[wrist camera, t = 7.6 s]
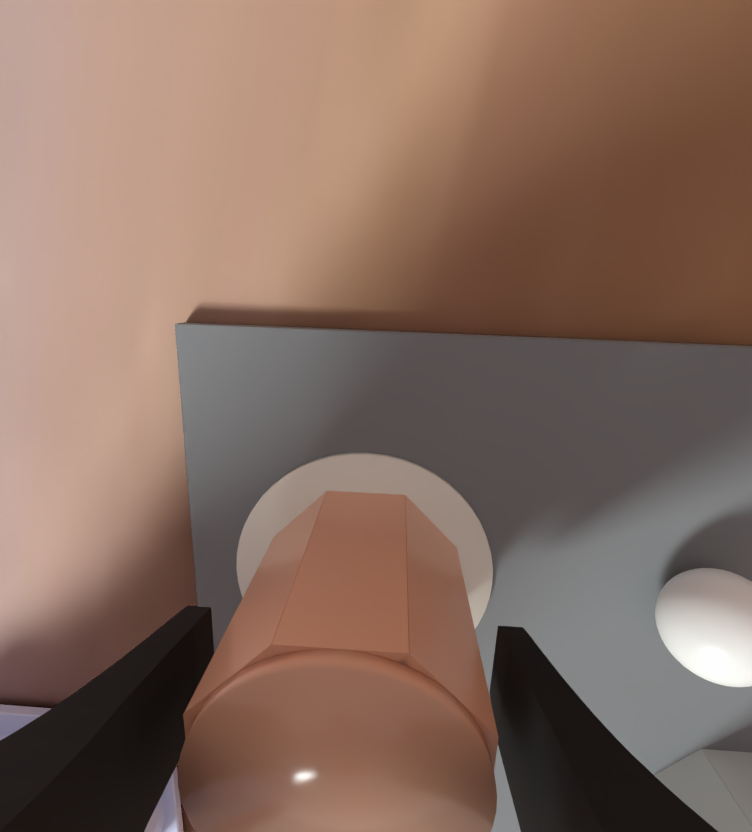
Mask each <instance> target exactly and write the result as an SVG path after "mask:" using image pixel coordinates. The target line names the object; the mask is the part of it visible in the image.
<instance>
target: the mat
mask: <svg viewBox="0 0 752 832" xmlns="http://www.w3.org/2000/svg"><path fill="white" fill-rule="evenodd" d="M175 331H176V343H177V356H178V368H179V381H180V393H181V406H182V418H183V431H184V443H185V456H186V468H187V481H188V493H189V506H190V518H191V531H192V543H193V556H194V568H195V581H196V593H197V606H198V607H211V613H212V627H213V642H214V653H215V651H216V649H217V647H218V645H219V643H220V641H221V639H222V637H223V635H224V634H225V632H226V630H227V628H228V626H229V624H230V622H231V620H232V618H233V616H234V614H235V612H236V610H237V608H238V606H239V604H240V602H241V600H242V595H241V591H240V587H239V584H238V577H237V569H236V568H237V550H238V544H239V539H240V536H241V533H242V530H243V527H244V524H245V523H246V521H247V519H248V517H249V515H250V513H251V511H252V510H253V508H254V507H255V505H256V504H257V502H258V501H259V500H260V498H261V497H262V495H263V494H264V493H265V492H266V491H267V490H268V489H269V488H270V487H271V486H272V485H273V484H274V483H275V482H277V481H278V480H279V479H280V478H282V477H283V476H284V475H286V474H287V473H289V472H290V471H292V470H294V469H296V468H297V467H299V466H301V465H303V464H306V463H308V462H311V461H313V460H315V459H319V458H323V457H326V456H330V455H335V454H342V453H350V452H370V453H379V454H386V455H390V456H395V457H399V458H403V459H405V460H408V461H411V462H413V463H416V464H419V465H421V466H423V467H424V468H426V469H428V470H430V471H432V472H434V473H435V474H437V475H438V476H440V477H441V478H443V479H444V480H445V481H447V482H448V483H449V484H450V485H452V486H453V487H454V488H455V489H456V490H457V491H458V492H459V493H460V494H461V495H462V496H463V497H464V499H465V500H466V501H467V502H468V503H469V505H470V506H471V507H472V509H473V510H474V512H475V514H476V515H477V517H478V519H479V520H480V523H481V525H482V527H483V530H484V532H485V534H486V537H487V540H488V544H489V548H490V551H491V556H492V565H493V580H492V588H491V593H490V599H489V601H488V604H487V607H486V610H485V613H484V614H483V616H482V618H481V620H480V622H479V624H478V626H477V627H476V628H475V633H476V637H477V642H478V646H479V651H480V655H481V660H482V664H483V669H484V673H485V678H486V683H487V687H488V692H490V684H491V676H492V669H493V661H494V653H495V645H496V637H497V629H498V626H512V627H523V628H524V629H525V630H526V631H527V633H528V634H529V635H530V636H531V638H532V639H533V640H534V642H535V643H536V644H537V645H538V647H539V648H540V649H541V651H542V652H543V653H544V655H545V656H546V657H547V658H548V660H549V661H550V662H551V663H552V665H553V666H554V667H555V668H556V670H557V671H558V672H559V673H560V675H561V676H562V677H563V678H564V680H565V681H566V682H567V683H568V684H569V686H570V687H571V688H572V689H573V690H574V691H575V693H576V694H577V695H578V696H579V697H580V699H581V700H582V701H583V702H584V703H585V704H586V706H587V707H588V708H589V709H590V710H591V711H592V712H593V714H594V715H595V716H596V717H597V718H598V719H599V720H600V721H601V722H602V724H603V725H604V726H605V727H606V728H607V729H608V730H609V731H610V732H611V733H612V734H613V735H614V736H615V738H616V739H617V740H618V741H619V742H620V743H621V744H622V745H623V746H624V747H625V748H626V749H627V750H628V751H629V752H630V753H631V754H632V755H633V756H634V757H635V758H636V759H637V760H638V761H639V762H641V763H642V764H643V765H644V766H645V767H646V768H647V769H648V770H649V771H650V772H651V773H652V774H653V775H655V774H657V773H658V772H660V771H662V770H664V769H666V768H668V767H669V766H671V765H673V764H675V763H677V762H678V761H680V760H682V759H684V758H686V757H687V756H689V755H691V754H693V753H695V752H697V751H698V750H700V749H710V750H723V751H737V752H750V753H752V686H750V687H730V686H724V685H719V684H716V683H713V682H710V681H708V680H705V679H703V678H701V677H699V676H697V675H696V674H694V673H693V672H691V671H690V670H688V669H687V668H685V667H684V666H683V665H682V664H681V663H680V662H679V661H678V660H677V659H675V657H674V656H673V655H672V654H671V653H670V651H669V650H668V649H667V647H666V646H665V644H664V642H663V641H662V639H661V636H660V634H659V632H658V629H657V625H656V620H655V606H656V601H657V598H658V595H659V593H660V591H661V590H662V588H663V587H664V585H665V584H666V583H667V582H668V581H669V580H670V579H672V578H673V577H674V576H676V575H678V574H680V573H682V572H685V571H688V570H691V569H697V568H715V569H721V570H726V571H729V572H732V573H735V574H738V575H740V576H742V577H744V578H746V579H748V580H750V581H752V346H742V345H718V344H694V343H670V342H646V341H621V340H597V339H573V338H549V337H525V336H500V335H476V334H452V333H428V332H404V331H379V330H355V329H331V328H307V327H283V326H258V325H234V324H210V323H186V322H184V323H178V324H175ZM489 696H490V693H489ZM490 701H491V700H490ZM494 776H495V782H496V790H497V810H496V815H495V819H494V824H493V827H492V830H491V832H521V830H520V826H519V823H518V819H517V815H516V811H515V807H514V804H513V800H512V796H511V792H510V789H509V785H508V781H507V777H506V773H505V769H504V766H503V762H502V758H501V754H500V750H499V746H497V754H496V761H495V768H494Z"/></svg>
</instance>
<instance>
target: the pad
mask: <svg viewBox="0 0 752 832" xmlns="http://www.w3.org/2000/svg"><path fill="white" fill-rule="evenodd" d="M326 491H343V492H361V493H380V494H399V495H406V496H407V497H408V498H409V499H410V500H411V501H412V502H413V503H414V504H415V505H416V506H417V507H418V508H419V509H420V510H421V511H422V512H423V513H424V514H425V515H426V516H427V518H428V519H429V520H430V521H431V522H432V523H433V524H434V525H435V526H436V527H437V528H438V529H439V530H440V531H441V532H442V533H443V534H444V535H445V536H446V537H447V538H448V539H449V540H450V541H451V542H452V543H453V544H454V545H455V546H456V547H457V551H458V555H459V560H460V565H461V569H462V574H463V578H464V583H465V587H466V592H467V596H468V601H469V605H470V610H471V614H472V619H473V624H474V628H476V627H477V626H478V624H479V622H480V620H481V618H482V616H483V614H484V613H485V610H486V607H487V604H488V601H489V599H490V593H491V588H492V580H493V565H492V556H491V551H490V548H489V544H488V540H487V537H486V534H485V532H484V530H483V527H482V525H481V523H480V520H479V519H478V517H477V515H476V514H475V512H474V510H473V509H472V507H471V506H470V505H469V503H468V502H467V501H466V500H465V499H464V497H463V496H462V495H461V494H460V493H459V492H458V491H457V490H456V489H455V488H454V487H453V486H452V485H450V484H449V483H448V482H447V481H445V480H444V479H443V478H441V477H440V476H438V475H437V474H435V473H434V472H432V471H430V470H428V469H426V468H424V467H423V466H421V465H419V464H416V463H413V462H411V461H408V460H405V459H403V458H399V457H395V456H390V455H386V454H379V453H370V452H350V453H342V454H335V455H330V456H326V457H323V458H319V459H315V460H313V461H311V462H308V463H306V464H303V465H301V466H299V467H297V468H296V469H294V470H292V471H290V472H289V473H287V474H286V475H284V476H283V477H282V478H280V479H279V480H278V481H277V482H275V483H274V484H273V485H272V486H271V487H270V488H269V489H268V490H267V491H266V492H265V493H264V494H263V495H262V497H261V498H260V500H259V501H258V502H257V504H256V505H255V507H254V508H253V510H252V511H251V513H250V515H249V517H248V519H247V521H246V523H245V524H244V527H243V530H242V533H241V536H240V539H239V544H238V550H237V568H236V569H237V577H238V584H239V587H240V591H241V595H242V598H243V596H244V594H245V592H246V590H247V588H248V586H249V584H250V583H251V581H252V579H253V577H254V575H255V573H256V571H257V569H258V567H259V565H260V563H261V561H262V559H263V557H264V555H265V553H266V551H267V549H268V547H269V545H270V543H271V541H272V539H273V537H274V536H275V535H276V534H278V533H279V532H280V531H281V530H282V529H283V528H285V527H286V526H287V525H288V524H289V523H290V522H291V521H293V520H294V519H295V518H296V517H297V516H298V515H300V514H301V513H302V512H303V511H304V510H305V509H306V508H308V507H309V506H310V505H311V504H312V503H313V502H314V501H316V500H317V499H318V498H319V497H320V496H321V495H323V494H324V493H325V492H326Z"/></svg>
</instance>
